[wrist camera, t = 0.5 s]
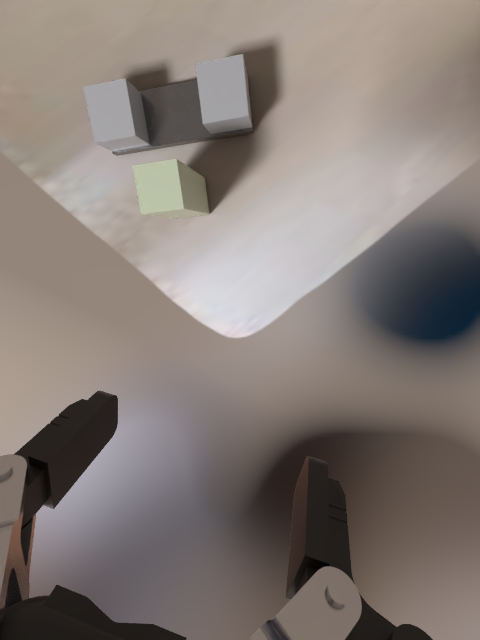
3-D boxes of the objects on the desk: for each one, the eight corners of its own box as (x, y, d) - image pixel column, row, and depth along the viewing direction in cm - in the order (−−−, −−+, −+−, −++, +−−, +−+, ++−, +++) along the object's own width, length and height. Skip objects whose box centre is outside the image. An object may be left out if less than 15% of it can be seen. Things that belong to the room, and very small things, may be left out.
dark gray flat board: (106, 101, 35) (102, 98, 34) (247, 74, 33) (246, 69, 32) (117, 155, 37) (112, 153, 36) (253, 132, 34) (252, 129, 33)
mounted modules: (102, 101, 35) (83, 87, 31) (247, 72, 32) (242, 53, 29) (112, 151, 36) (94, 142, 32) (252, 127, 33) (248, 115, 30)
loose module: (171, 182, 37) (132, 165, 27) (204, 177, 36) (176, 158, 27) (177, 218, 38) (141, 214, 28) (209, 214, 37) (183, 208, 28)
